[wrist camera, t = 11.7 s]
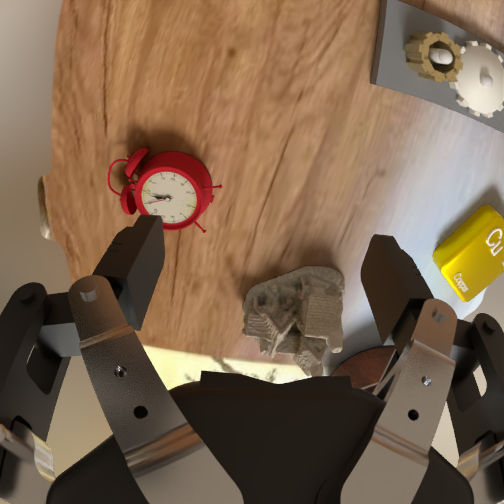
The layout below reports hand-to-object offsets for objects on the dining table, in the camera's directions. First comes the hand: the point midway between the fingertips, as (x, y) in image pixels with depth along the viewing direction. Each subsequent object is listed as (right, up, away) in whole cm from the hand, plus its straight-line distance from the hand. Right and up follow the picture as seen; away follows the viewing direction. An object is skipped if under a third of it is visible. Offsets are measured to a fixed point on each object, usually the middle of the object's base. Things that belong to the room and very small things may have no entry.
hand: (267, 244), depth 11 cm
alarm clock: (-13, +9, +29) cm, 33 cm away
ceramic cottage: (+7, -8, +41) cm, 42 cm away
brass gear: (+20, +23, +15) cm, 34 cm away
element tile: (+40, 0, +34) cm, 53 cm away
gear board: (+26, +24, +17) cm, 39 cm away
